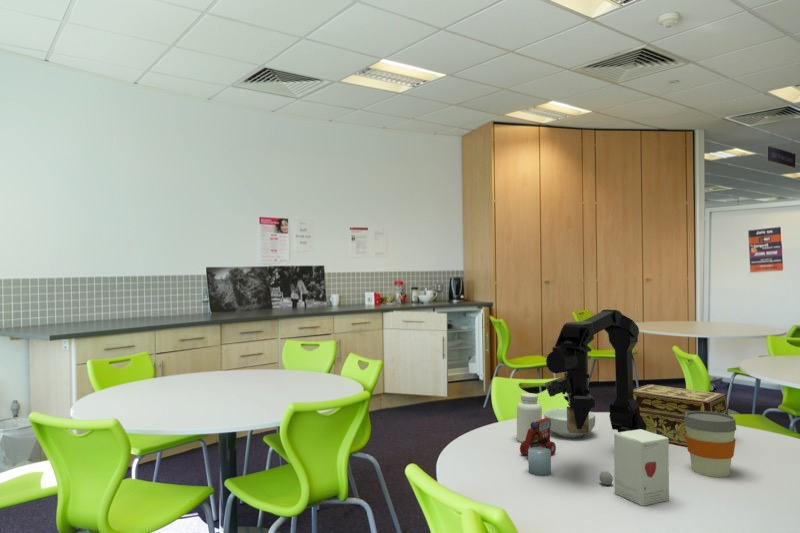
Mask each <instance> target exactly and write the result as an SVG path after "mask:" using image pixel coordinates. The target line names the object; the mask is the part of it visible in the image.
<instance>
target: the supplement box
mask: <svg viewBox="0 0 800 533" xmlns="http://www.w3.org/2000/svg"><path fill="white" fill-rule="evenodd" d="M613 434H614V435H613V436H614V437H613V438H614V439H613V440H614V442H613V443H614V450H613V452H614V455H613V457H614V458H613V459H614V464H613V465H614V471H613V472H614V473H613V474H614V477H613V481H614V494H616V495H618V496H620V497H622V498H625V499H627V500H629V501H631V502H633V503H635V504H637V505H640V506H641V507H642V506H643V507H644V506H650V505H652V504H657V503H661V502H666V501H667V502H668V501H670V478H669V477H670V470H669V468H670V465H669V464H670V463H669V462H670V461H669V459H670V456H669V455H670V454H669V445H670V444H669V441H668V439H669V438H667V437H664V436H661V435H658V434H654V433H651V432H648V431H645V430H642V429H639V430H632V431H625V432H618V431H617V432H614V433H613Z"/></svg>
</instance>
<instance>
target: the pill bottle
mask: <svg viewBox="0 0 800 533" xmlns="http://www.w3.org/2000/svg"><path fill="white" fill-rule="evenodd" d="M542 413H543V408H542V405H541V404H540V403H539V402H538V394H536V393H531V392H530V393H529V392H523V393H521V394H520V402H518V403H517V405H516V440H517V441H518V442H520V443H522V442H523V441H525V439H526V435H527V432H528V429H530V428H531V427H530V425H531V423H532V422H536V421H539V420H541V419H543V414H542Z"/></svg>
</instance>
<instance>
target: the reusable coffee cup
mask: <svg viewBox="0 0 800 533" xmlns="http://www.w3.org/2000/svg"><path fill="white" fill-rule="evenodd" d="M684 425H685V426H686V432H687V433H686V434H685V436H686V442H687V447H686V449H687V452H688V453H689V457H690V463H691V469H692V471H693V472H694V473H696V474H700V475H702V476H706V477H710V478H711V477H712V478H725V477H729V475H730V474H731V465H732V458H734V455H735V448H736V447H735V446H736V438H735V433H736V431H737V424H736V418H735V416H733V415H729V414H728V415H727V414H723V413H718V412H710V411H690V412H686V413H685V418H684Z"/></svg>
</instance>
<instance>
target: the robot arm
mask: <svg viewBox="0 0 800 533" xmlns="http://www.w3.org/2000/svg"><path fill="white" fill-rule="evenodd" d="M603 330H604V331H605V332H606V334H607V335H608V342H609V343H610V345H611V346H612V348H613V350H614V364H615V365H614V367H615V370H614V372H615V399H614V400H613V401H612V403H610V404H609V421H610V425H611V429H612V430H615V431H617V433H618V432H625V431H632V430H639V429H642V430H645V431H646V426H647V425H646V424H645V422H644V420H643V419H642V417H641V415H640V408H639V406H638V404H637V403H636V401H635V400H634V397H633V389H634V373H633V372H634V371H633V368H634V367H633V349H634V348H635V347H636V345H637V343H638V342H639V340H638V339H639V334H640V328H639V326H638V325H637V323H635V321H634V320H633V319H631V318H630V317H628V316H626V315H624V314H623V313H622V312H621V311H620V310H619V309H608V308H607V309H602V310H601V311H600V312H598V313H596V314H594V315H592V316H590V317H588V318H586V319H583V320H581V321H569V322H566V323H564V324H563V325H562V328H561V330H560V333H559V335H558V337H557V339H556V342H555V345H554V346H553V347H552V351H551V352H549V353H548V354H547V357H546V360H545V363H546V367H547V369H548V370H549V371H550V372H551V373H553V374H561V373H563V376H561V377H560V378H559V377H558V378H556V379H552V380H550V381H546V382H545V383H544V385H545V388H546V391H547V393H548V396H549V397H550V398H551V397H555V396H556V395H559V394H562V395H563V399H564V400H565V401H566V402H567V404H568V407H571V408H572V409H573V410H574V415H575V420H576V426H577V429H582V427H583V425H584V422H585V420H586V418H587V416H588V414H589V412H591V409H593V408H596V399H595V398H594V397H593V396H592V395H591V394H590V393H591V391H590V389H589V379H590V374H589V357H588V356H589V353H590V352H592V348H591V347H590V346H589V344H590V343H591V342H592V341H593V340H594V339H595V335H596V334H597V333H600V332H602V331H603Z"/></svg>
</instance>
